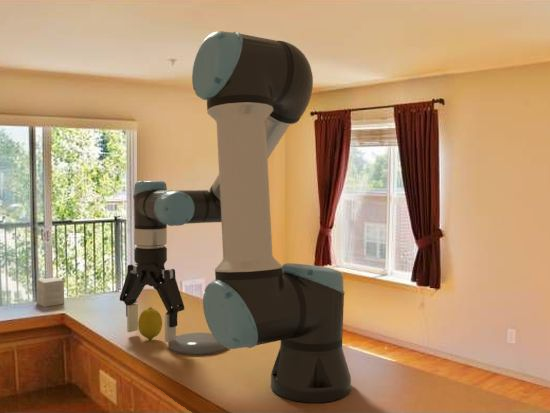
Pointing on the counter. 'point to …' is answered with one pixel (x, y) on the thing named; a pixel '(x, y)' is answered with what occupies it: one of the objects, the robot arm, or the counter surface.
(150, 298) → the counter surface
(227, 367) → the counter surface
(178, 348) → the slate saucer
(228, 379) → the counter surface
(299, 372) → the robot arm
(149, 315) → the lemon
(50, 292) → the product box
